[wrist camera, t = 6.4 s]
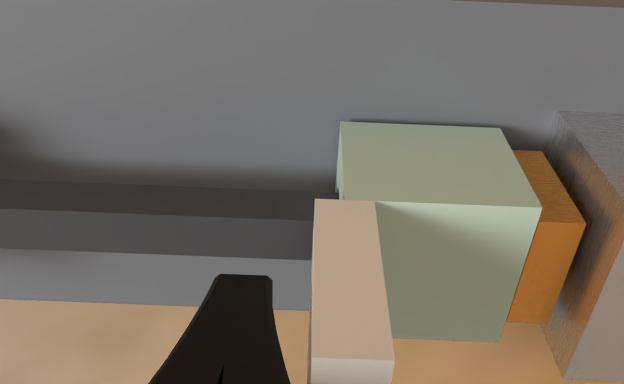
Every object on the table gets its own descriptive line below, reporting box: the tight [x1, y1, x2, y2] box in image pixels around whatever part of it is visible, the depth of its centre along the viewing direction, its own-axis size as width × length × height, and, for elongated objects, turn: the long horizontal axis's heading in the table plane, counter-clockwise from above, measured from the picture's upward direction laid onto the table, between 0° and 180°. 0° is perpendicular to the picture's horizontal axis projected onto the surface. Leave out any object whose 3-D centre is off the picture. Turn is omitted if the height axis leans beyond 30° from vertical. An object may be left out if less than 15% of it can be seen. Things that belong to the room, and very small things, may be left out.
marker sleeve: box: [307, 121, 542, 384], centre depth 13 cm, size 5×4×7 cm
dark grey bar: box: [0, 179, 339, 261], centre depth 14 cm, size 20×1×1 cm, turn 88°
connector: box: [506, 111, 624, 382], centre depth 14 cm, size 5×5×4 cm
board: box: [0, 0, 624, 311], centre depth 15 cm, size 24×10×5 cm, turn 88°
